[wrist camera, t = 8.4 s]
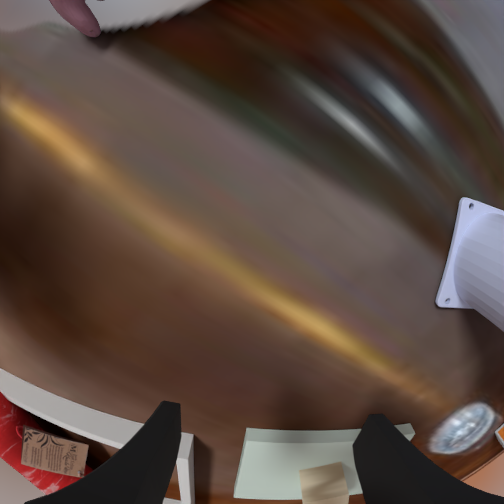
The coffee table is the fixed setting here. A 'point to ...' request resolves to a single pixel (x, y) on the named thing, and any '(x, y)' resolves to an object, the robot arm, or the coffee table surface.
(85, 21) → the video game controller
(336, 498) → the maple cube
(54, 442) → the red bottle
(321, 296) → the coffee table surface
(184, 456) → the bottle tray rim
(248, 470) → the board
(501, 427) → the skincare box
